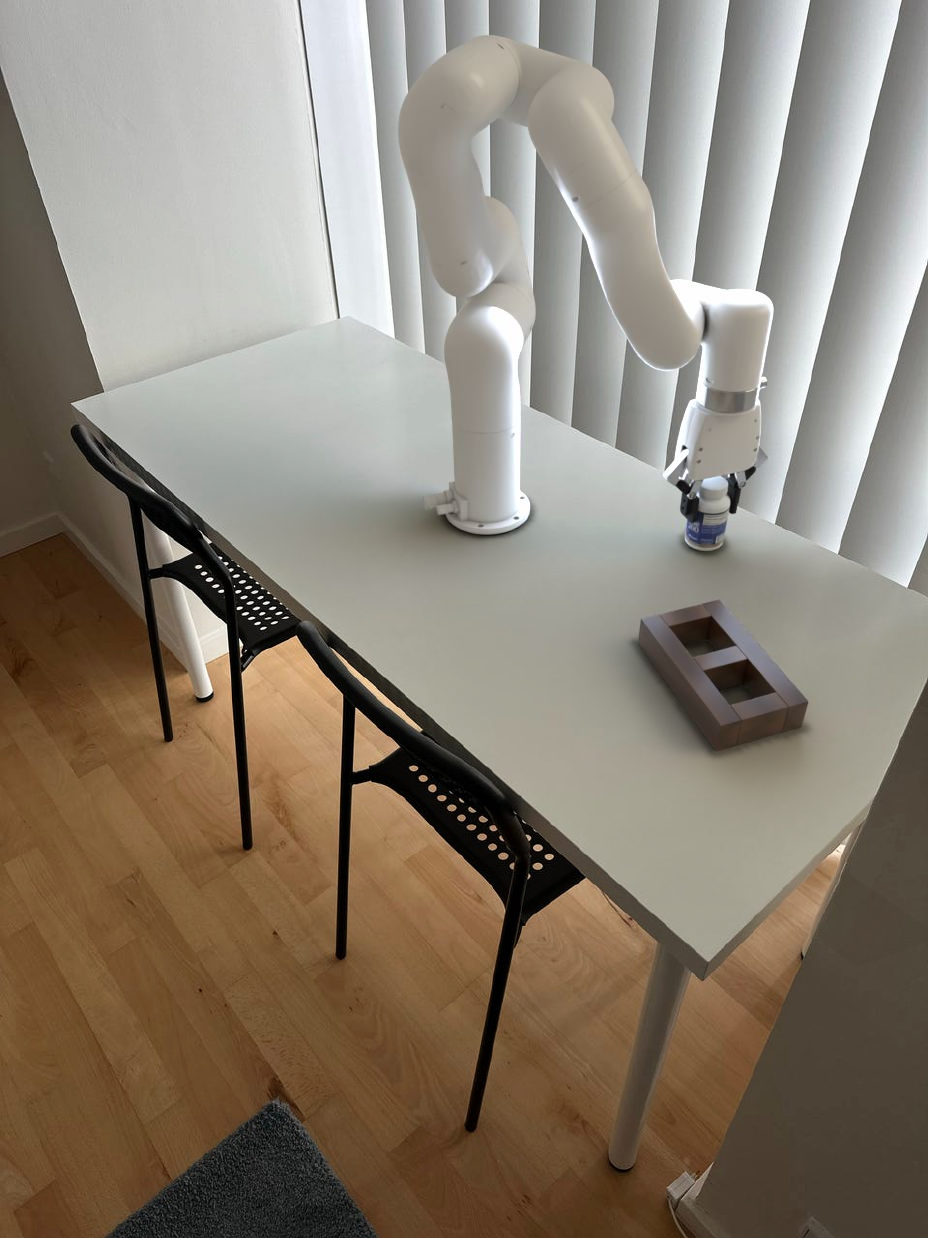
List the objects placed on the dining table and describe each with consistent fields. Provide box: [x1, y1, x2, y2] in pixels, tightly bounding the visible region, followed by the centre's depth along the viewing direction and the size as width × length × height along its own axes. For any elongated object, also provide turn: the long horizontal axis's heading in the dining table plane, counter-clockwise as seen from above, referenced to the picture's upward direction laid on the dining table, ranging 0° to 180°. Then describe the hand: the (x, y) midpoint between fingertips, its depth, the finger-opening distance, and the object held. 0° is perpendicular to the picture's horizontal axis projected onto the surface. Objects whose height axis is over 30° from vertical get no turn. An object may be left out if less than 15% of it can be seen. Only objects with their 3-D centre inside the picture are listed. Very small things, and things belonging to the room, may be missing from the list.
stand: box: [637, 599, 809, 752], centre depth 110 cm, size 11×19×4 cm, turn 18°
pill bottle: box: [684, 476, 730, 552], centre depth 131 cm, size 5×5×10 cm
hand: (708, 512), depth 131 cm, fingers closed on pill bottle, 5 cm apart
